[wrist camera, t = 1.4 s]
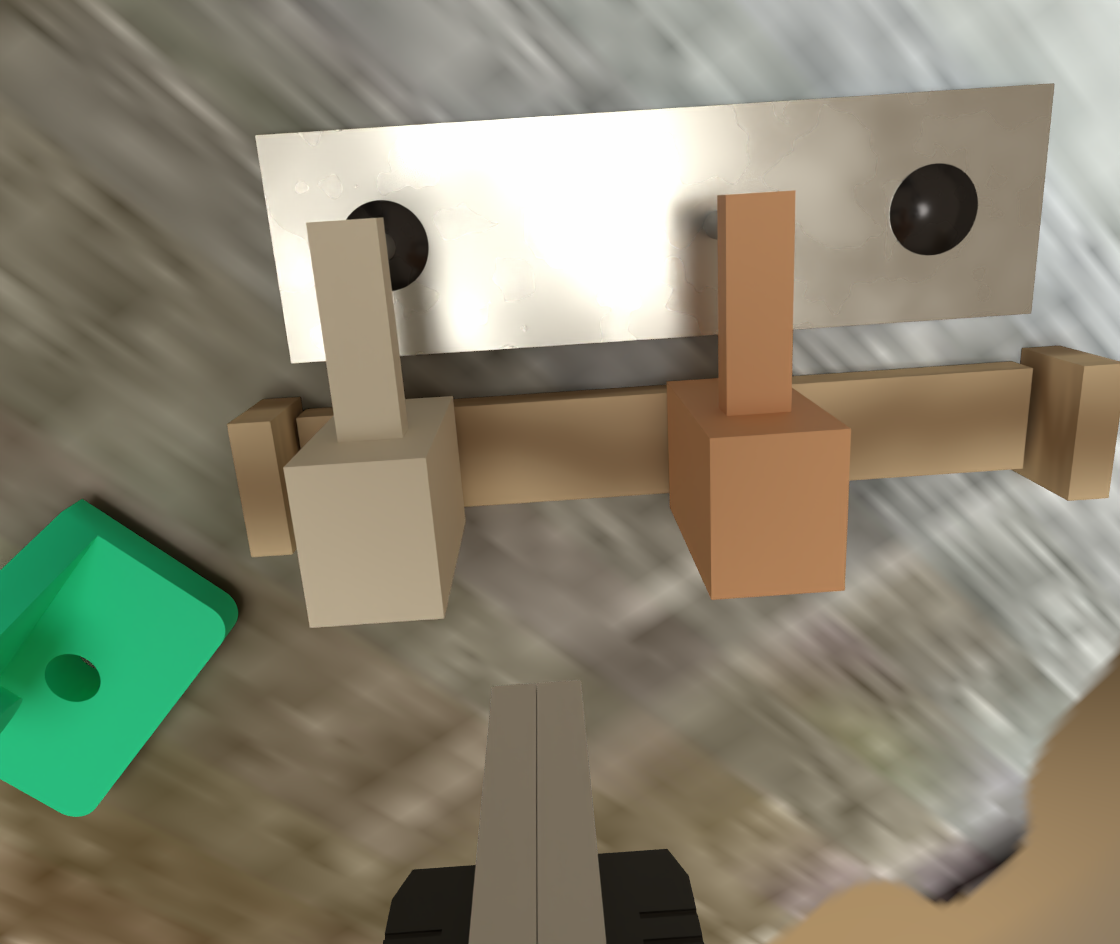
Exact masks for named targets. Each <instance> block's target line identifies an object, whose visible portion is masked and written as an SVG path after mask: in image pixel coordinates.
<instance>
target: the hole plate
mask: <svg viewBox="0 0 1120 944" xmlns="http://www.w3.org/2000/svg"><path fill="white" fill-rule="evenodd" d="M1053 93H1054V83H1053V84H1038V85H1022V86H1007V87H992V88H976V89H961V90H946V91H930V92H915V93H899V94H884V95H869V96H853V97H838V98H823V99H807V100H792V101H776V102H761V103H746V104H730V105H715V106H699V107H684V108H669V109H653V110H638V111H623V112H607V113H592V114H576V115H561V116H546V117H530V118H515V119H500V120H484V121H469V122H453V123H438V124H423V125H407V126H392V127H376V128H361V129H346V130H330V131H315V132H300V133H284V134H269V135H255V137H256V143H257V150H258V156H259V162H260V169H261V175H262V181H263V188H264V194H265V200H266V207H267V213H268V219H269V226H270V232H271V238H272V244H273V251H274V257H275V263H276V270H277V276H278V282H279V289H280V295H281V301H282V308H283V314H284V320H285V327H286V333H287V339H288V345H289V352H290V358H291V363H302V362H317V361H326V358H325V351H324V344H323V337H322V330H321V324H320V317H319V310H318V303H317V296H316V289H315V283H314V276H313V269H312V262H311V255H310V248H309V241H308V235H307V228H306V223H307V222H322V221H337V220H352V219H367V218H383V220H384V229H385V233H386V234H388V235H389V236H391V237H392V239H393V240H394V242H395V245H396V250H395V254H394V256H393V257H392V258H391V259H390V260H388V262H389V270H390V279H391V287H392V295H393V304H394V312H395V320H396V329H397V337H398V345H399V354H400V356H406V355H421V354H436V353H451V352H466V351H481V350H496V349H510V348H525V347H540V346H555V345H570V344H585V343H600V342H615V341H629V340H644V339H659V338H674V337H689V336H704V335H718V240H716V239H712V238H710V237H709V236H708V235H707V234H706V232H705V230H704V221H705V219H706V217H707V216H708V215H709V214H710V213H711V212H713V211H716V210H717V195H732V194H747V193H762V192H777V191H792V190H796V192H795V245H794V298H793V329H808V328H823V327H838V326H853V325H867V324H882V323H897V322H912V321H927V320H942V319H957V318H972V317H986V316H1001V315H1016V314H1031V310H1032V300H1033V290H1034V280H1035V271H1036V261H1037V251H1038V241H1039V231H1040V221H1041V211H1042V202H1043V192H1044V182H1045V172H1046V162H1047V152H1048V143H1049V133H1050V123H1051V113H1052V103H1053Z"/></svg>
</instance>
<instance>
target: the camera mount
mask: <svg viewBox="0 0 1120 944" xmlns="http://www.w3.org/2000/svg"><path fill="white" fill-rule="evenodd" d="M237 618H238V609H237V605H236V603H235V601H234V600H233V598H232V597H231V596H230V595H229V594H227V593H226V592H225V591H223V590H221V589H220V588H218V587H217V586H215V585H214V584H212V583H211V582H209V581H208V580H206V579H205V578H203V577H201V576H200V575H198V574H197V573H195V572H194V571H192V570H191V569H189V568H188V567H186V566H185V565H183V564H182V563H180V562H178V561H177V560H175V559H174V558H172V557H171V556H169V555H168V554H166V553H165V552H163V551H162V550H160V549H159V548H157V547H155V546H154V545H152V544H151V543H149V542H148V541H146V540H145V539H143V538H142V537H140V536H139V535H137V534H136V533H134V532H132V531H131V530H129V529H128V528H126V527H125V526H123V525H122V524H120V523H119V522H117V521H116V520H114V519H113V518H111V517H109V516H108V515H106V514H105V513H103V512H102V511H100V510H99V509H97V508H96V507H94V506H93V505H91V504H89V503H88V502H86V501H85V500H83V499H81V500H79V501H78V502H76V503H75V504H73V505H72V506H70V507H69V508H67V509H65V510H64V511H62V512H61V513H60V514H59V515H58V516H57V517H56V518H55V519H54V520H53V521H52V522H51V523H50V524H48V525H47V526H46V527H45V528H44V529H43V530H42V531H41V532H40V533H39V534H38V535H37V536H36V537H35V538H34V539H33V540H32V541H31V542H30V543H29V544H28V545H26V546H25V547H24V548H23V549H22V550H21V551H20V552H19V553H18V554H17V555H16V556H15V557H14V558H13V559H12V560H11V561H10V562H9V563H8V564H7V565H6V566H4V567H3V568H2V569H1V570H0V779H1V780H3V781H5V782H7V783H9V784H10V785H12V786H14V787H16V788H17V789H19V790H21V791H23V792H24V793H26V794H28V795H30V796H32V797H33V798H35V799H37V800H39V801H40V802H42V803H44V804H46V805H48V806H49V807H51V808H53V809H55V810H56V811H58V812H60V813H62V814H64V815H68V816H74V817H79V816H84V815H87V814H89V813H91V812H92V811H93V810H94V809H95V808H96V807H97V806H98V804H99V803H100V802H101V800H102V799H103V798H104V797H105V795H106V794H107V793H108V791H109V790H110V789H111V787H112V786H113V785H114V783H115V782H116V781H117V779H118V778H119V777H120V776H121V774H122V773H123V772H124V770H125V769H126V768H127V766H128V765H129V764H130V762H131V761H132V760H133V759H134V757H135V756H136V755H137V753H138V752H139V751H140V749H141V748H142V747H143V745H144V744H145V743H146V742H147V740H148V739H149V738H150V736H151V735H152V734H153V732H154V731H155V730H156V728H157V727H158V726H159V724H160V723H161V722H162V721H163V719H164V718H165V717H166V715H167V714H168V713H169V711H170V710H171V709H172V707H173V706H174V705H175V704H176V702H177V701H178V700H179V698H180V697H181V696H182V694H183V693H184V692H185V690H186V689H187V688H188V687H189V685H190V684H191V683H192V681H193V680H194V679H195V677H196V676H197V675H198V673H199V672H200V671H201V669H202V668H203V667H204V666H205V664H206V663H207V662H208V660H209V659H210V658H211V656H212V655H213V654H214V652H215V651H216V650H217V649H218V647H219V646H220V645H221V643H222V642H223V640H224V639H225V638H226V636H227V635H228V634H229V632H230V631H231V629H232V628H233V627H234V625H235V624H236V622H237ZM80 656H81V657H84V658H85V659H87V660H89V661H90V662H91V663H92V664H93V665H94V666H95V667H96V669H95V668H92V667H90V666H89V665H87V664H86V663H85V662H84V661H83V660H82V659H81V658H80Z"/></svg>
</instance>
